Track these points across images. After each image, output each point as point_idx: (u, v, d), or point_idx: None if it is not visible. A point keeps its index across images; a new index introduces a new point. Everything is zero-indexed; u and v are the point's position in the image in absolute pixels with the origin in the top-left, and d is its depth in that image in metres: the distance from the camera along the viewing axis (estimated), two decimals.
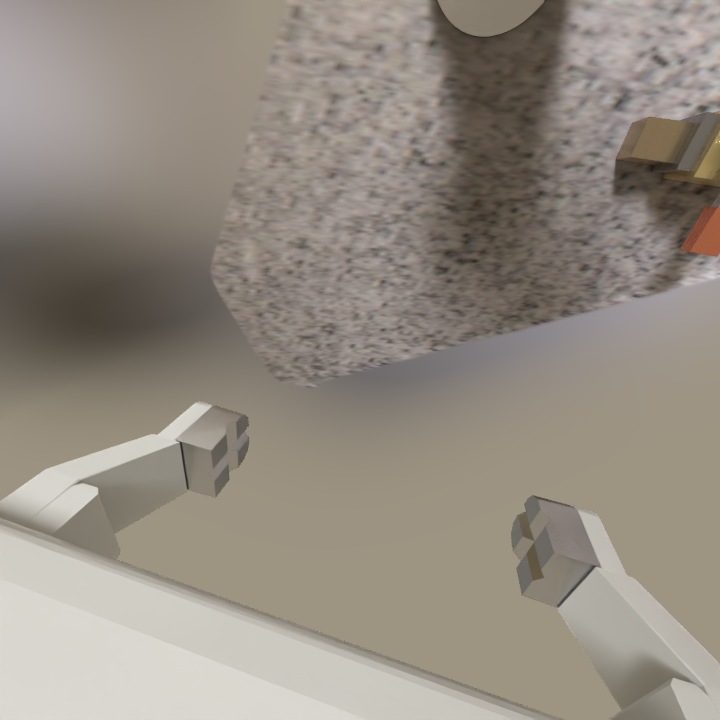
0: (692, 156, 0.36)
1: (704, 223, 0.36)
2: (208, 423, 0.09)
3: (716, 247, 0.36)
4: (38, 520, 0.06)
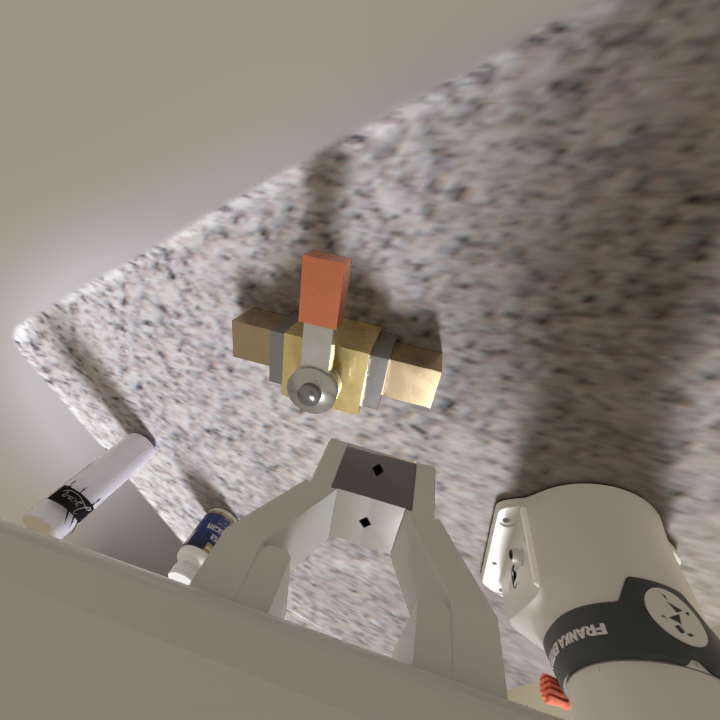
0: (375, 371, 0.27)
1: (340, 306, 0.22)
2: (354, 465, 0.08)
3: (310, 270, 0.21)
4: (246, 594, 0.05)
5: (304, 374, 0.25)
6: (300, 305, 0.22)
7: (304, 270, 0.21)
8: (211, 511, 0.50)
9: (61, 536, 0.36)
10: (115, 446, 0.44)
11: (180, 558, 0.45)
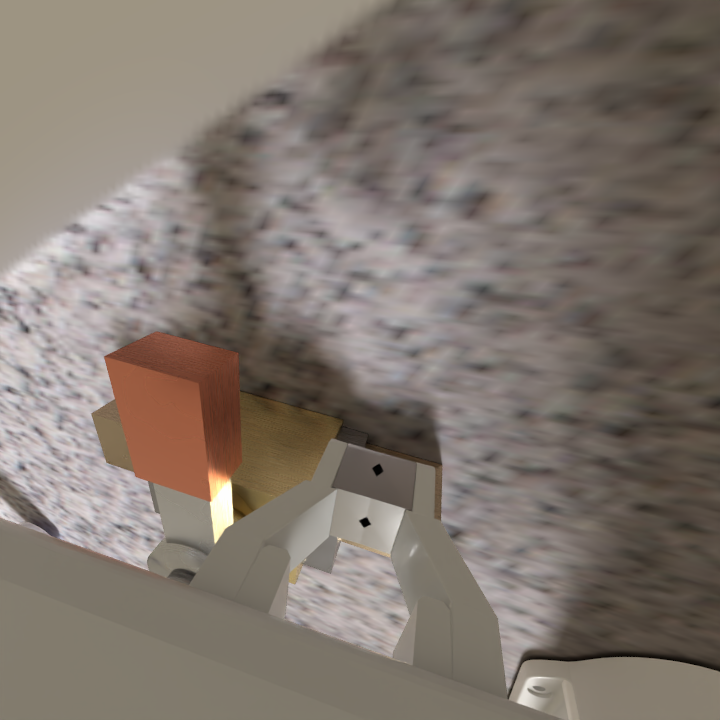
0: None
1: (214, 457, 0.10)
2: (354, 465, 0.08)
3: (130, 389, 0.09)
4: (246, 594, 0.05)
5: (172, 557, 0.13)
6: (130, 451, 0.10)
7: (117, 388, 0.09)
8: None
9: None
10: None
11: None
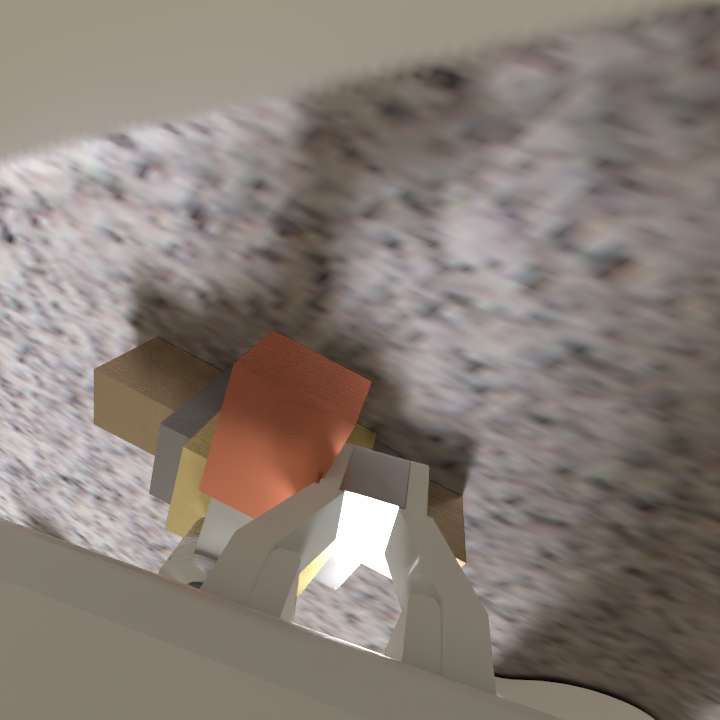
0: (351, 545, 0.14)
1: None
2: (361, 467, 0.08)
3: (250, 407, 0.07)
4: (257, 598, 0.05)
5: (199, 571, 0.11)
6: (208, 465, 0.08)
7: (232, 400, 0.07)
8: None
9: None
10: None
11: None
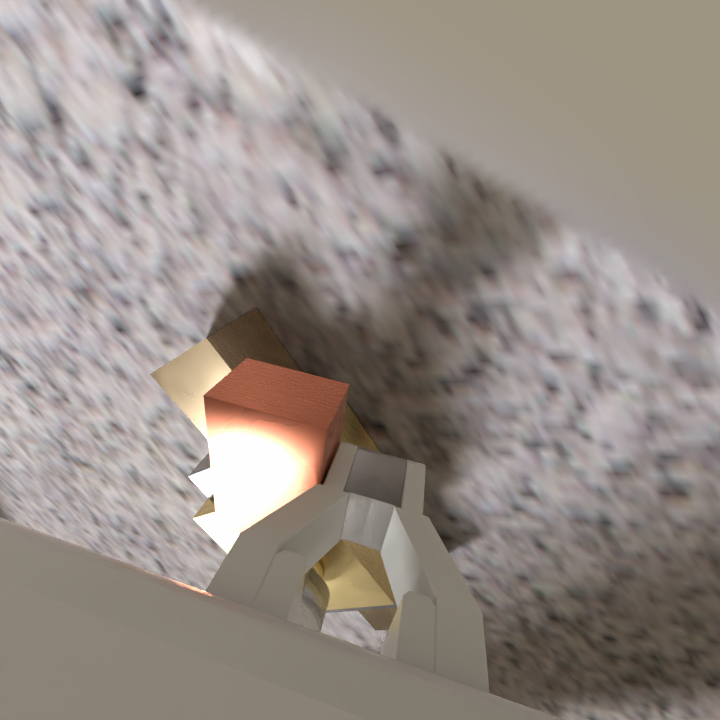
0: None
1: None
2: (365, 468, 0.08)
3: (231, 433, 0.07)
4: (263, 600, 0.05)
5: None
6: (216, 499, 0.09)
7: (214, 431, 0.07)
8: None
9: None
10: None
11: None
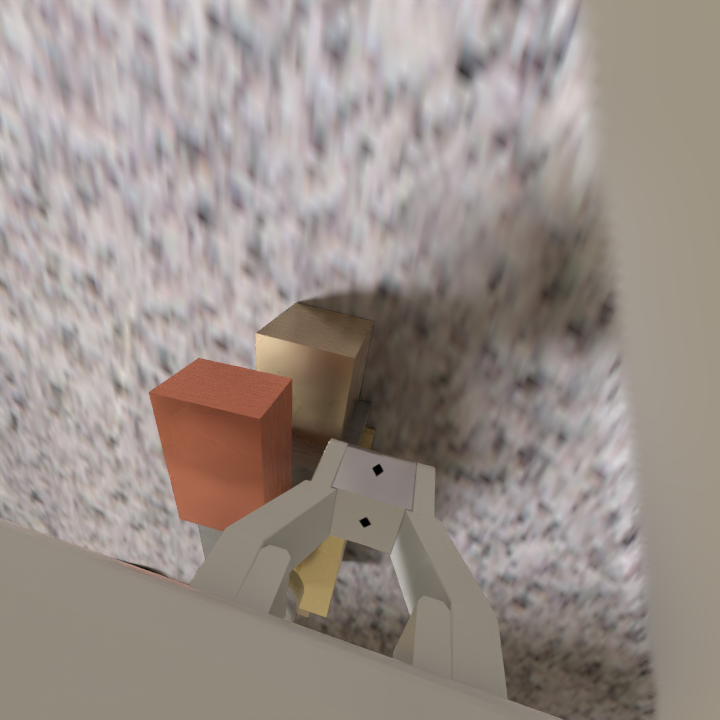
0: None
1: (270, 495, 0.09)
2: (354, 465, 0.08)
3: (178, 427, 0.08)
4: (246, 595, 0.05)
5: None
6: (175, 492, 0.09)
7: (163, 426, 0.08)
8: None
9: None
10: None
11: None
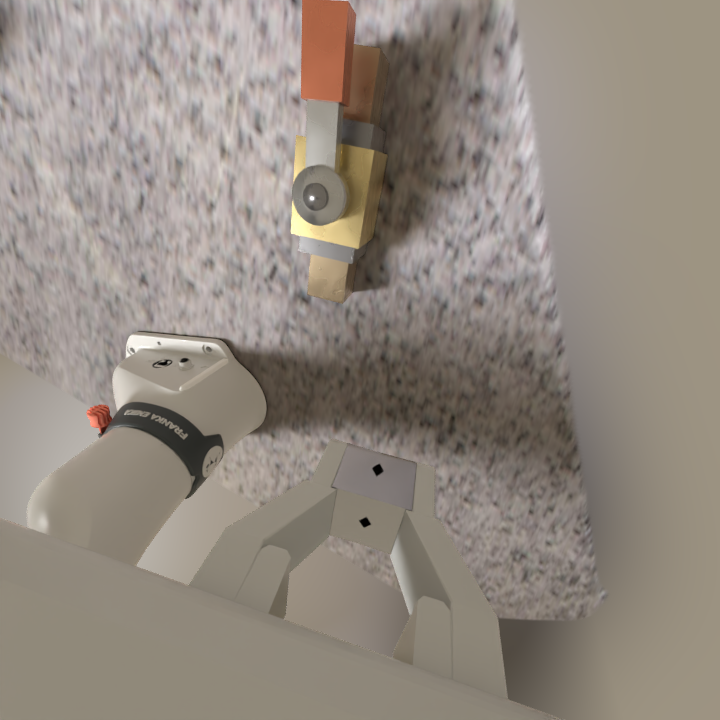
0: (339, 251, 0.29)
1: (345, 69, 0.21)
2: (354, 465, 0.08)
3: (311, 20, 0.20)
4: (247, 595, 0.05)
5: (310, 172, 0.24)
6: (302, 74, 0.21)
7: (305, 21, 0.20)
8: None
9: None
10: None
11: None
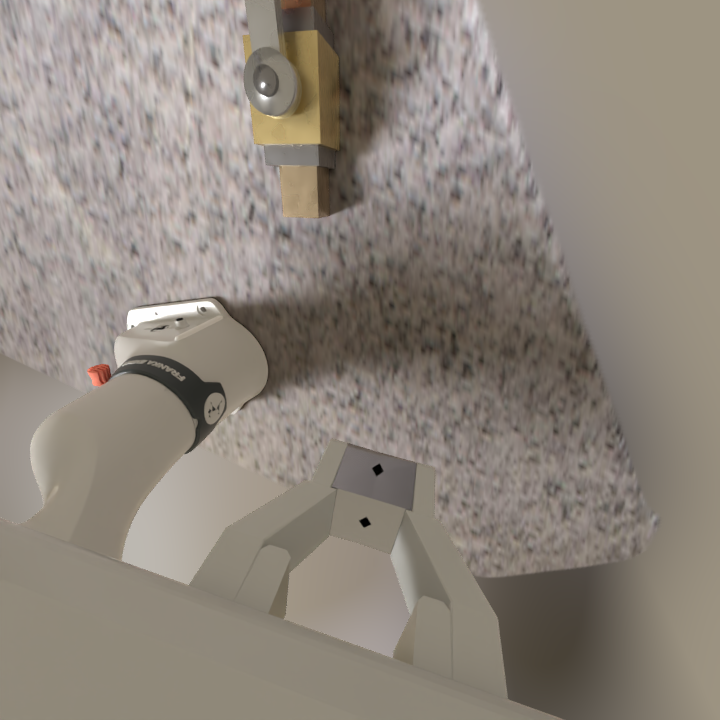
0: (304, 154, 0.30)
1: None
2: (354, 465, 0.08)
3: None
4: (246, 594, 0.05)
5: (257, 57, 0.24)
6: None
7: None
8: None
9: None
10: None
11: None
